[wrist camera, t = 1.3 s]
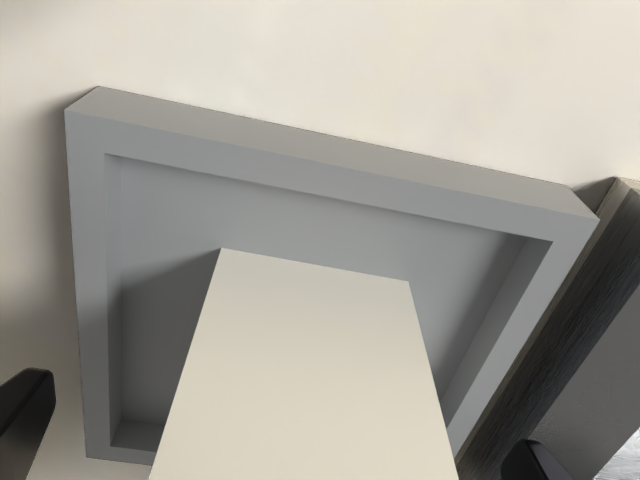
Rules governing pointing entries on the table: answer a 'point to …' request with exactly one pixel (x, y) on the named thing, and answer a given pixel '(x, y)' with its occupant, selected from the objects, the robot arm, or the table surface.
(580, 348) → the board
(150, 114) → the tray
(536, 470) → the robot arm
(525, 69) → the table surface
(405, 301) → the plug
